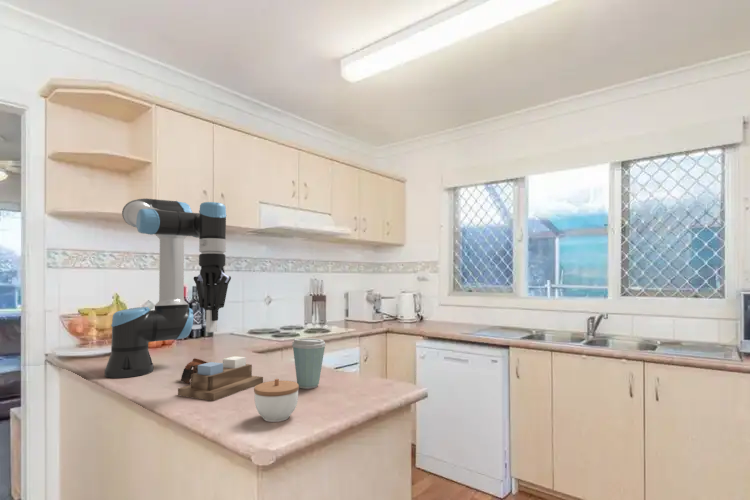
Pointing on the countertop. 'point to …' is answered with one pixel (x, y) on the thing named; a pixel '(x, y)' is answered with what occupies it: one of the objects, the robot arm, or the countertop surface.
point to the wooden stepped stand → (220, 383)
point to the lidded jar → (276, 399)
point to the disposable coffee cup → (308, 361)
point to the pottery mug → (188, 369)
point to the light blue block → (210, 368)
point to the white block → (234, 362)
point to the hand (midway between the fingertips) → (211, 331)
